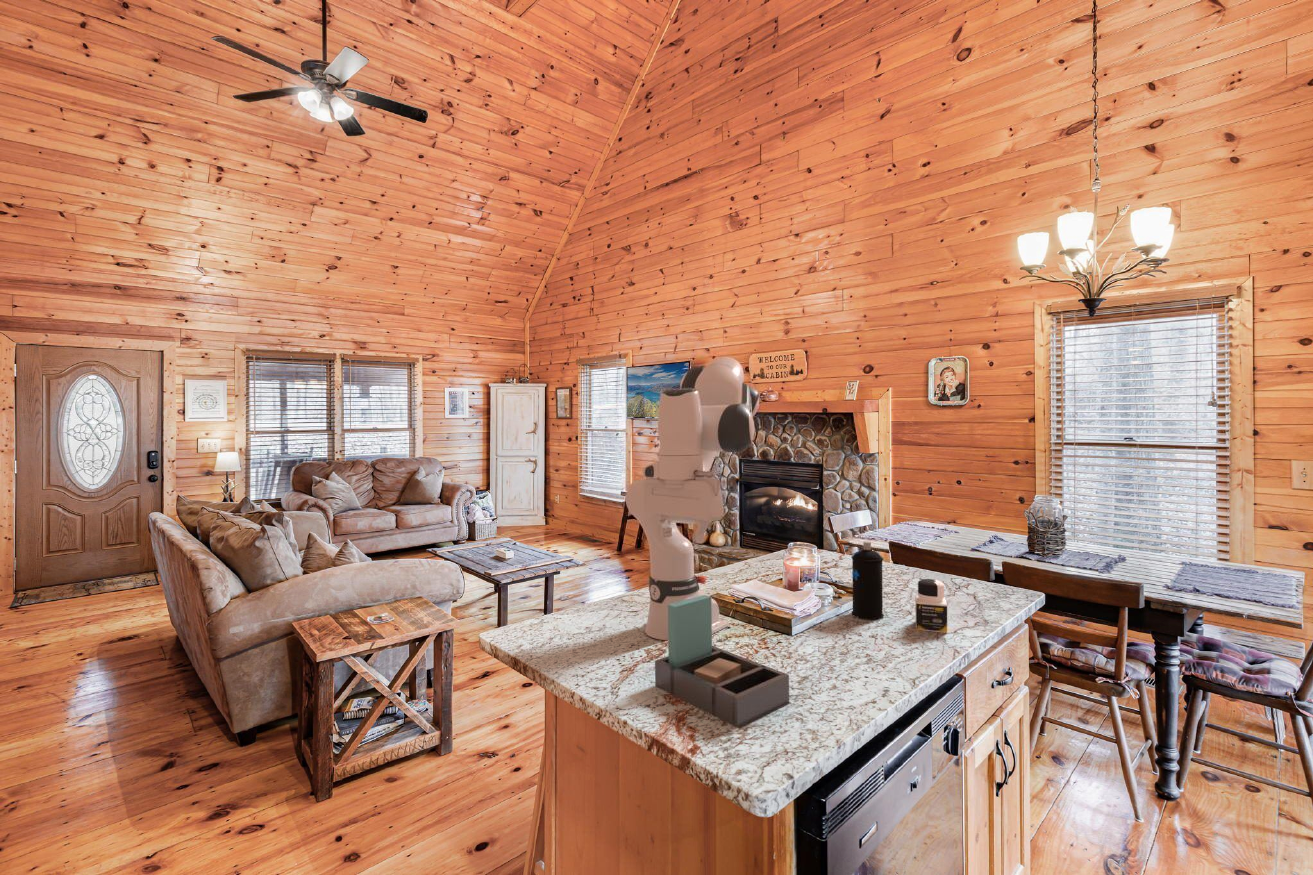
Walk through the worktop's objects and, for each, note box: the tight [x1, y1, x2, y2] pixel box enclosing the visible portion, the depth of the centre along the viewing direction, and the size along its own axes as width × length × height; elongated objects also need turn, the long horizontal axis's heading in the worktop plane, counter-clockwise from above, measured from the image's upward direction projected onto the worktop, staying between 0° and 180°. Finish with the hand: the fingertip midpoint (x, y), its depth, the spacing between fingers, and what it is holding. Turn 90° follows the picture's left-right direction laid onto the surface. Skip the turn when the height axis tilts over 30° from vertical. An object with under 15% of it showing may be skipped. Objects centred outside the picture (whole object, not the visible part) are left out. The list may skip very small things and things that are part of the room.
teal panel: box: [667, 594, 713, 666], centre depth 119 cm, size 10×2×16 cm, turn 130°
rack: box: [654, 645, 792, 730], centre depth 113 cm, size 14×22×6 cm, turn 40°
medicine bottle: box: [914, 578, 948, 634], centre depth 153 cm, size 7×7×12 cm
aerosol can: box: [851, 541, 885, 621], centre depth 163 cm, size 8×8×20 cm
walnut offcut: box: [694, 658, 741, 685], centre depth 113 cm, size 8×5×2 cm, turn 138°
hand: (682, 539), depth 118 cm, fingers open, 8 cm apart
